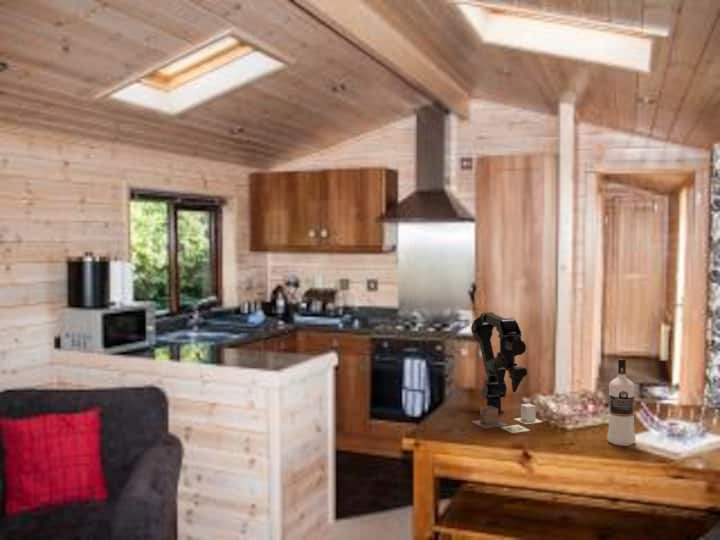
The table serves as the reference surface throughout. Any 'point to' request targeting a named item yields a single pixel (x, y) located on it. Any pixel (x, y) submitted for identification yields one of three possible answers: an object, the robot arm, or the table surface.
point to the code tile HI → (527, 422)
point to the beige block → (528, 412)
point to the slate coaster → (489, 425)
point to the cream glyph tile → (515, 428)
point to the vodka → (621, 408)
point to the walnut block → (489, 415)
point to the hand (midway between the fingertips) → (507, 389)
